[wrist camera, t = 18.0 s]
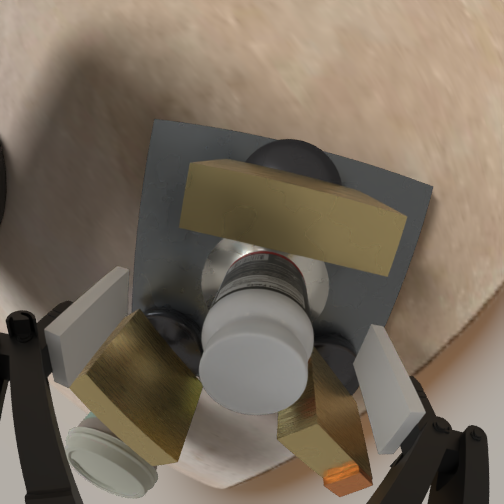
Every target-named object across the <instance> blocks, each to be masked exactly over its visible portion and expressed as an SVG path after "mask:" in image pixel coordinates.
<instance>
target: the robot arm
mask: <svg viewBox="0 0 504 504" xmlns="http://www.w3.org/2000/svg"><path fill="white" fill-rule="evenodd" d="M5 194H6V177H5V166H4V159H3V154H2V150H1V146H0V223H1V220H2V216H3V211H4V205H5ZM128 286H129V269H126V268H123V267H119V266H116V267H115V268H114V269H113V270H111V271H110V272H109V273H108V274H107V275H105V276H104V277H103V278H102V279H101V280H99V281H98V282H97V283H96V284H95V285H94V286H92V287H91V288H90V289H89V290H88V291H87V292H85V293H84V294H83V295H82V296H81V297H80V298H79V299H77V300H76V301H75V302H71V301H66V302H63V303H61V304H59V305H57V306H56V307H55V308H54V309H53V310H52V311H50V312H49V313H48V315H46V316H45V317H43V318H42V319H41V320H40V321H39V322H38V323H36V318H35V316H34V315H33V314H32V313H31V312H28V311H15V312H13V313H11V314H10V315H9V316H8V317H7V319H6V324H7V329H8V333H9V334H5V333H0V419H1V413H2V408H3V403H4V399H5V394H6V390H7V386H8V382H9V381H10V387H11V401H12V411H13V420H14V427H15V435H16V441H17V448H18V453H19V458H20V464H21V469H22V473H23V477H24V481H25V486H26V490H27V494H26V495H25V503H26V504H83V501H82V499H81V496H80V494H79V491H78V488H77V486H76V483H75V480H74V477H73V474H72V472H71V469H70V466H69V462H68V459H67V456H66V453H65V449H64V446H63V443H62V439H61V435H60V432H59V428H58V424H57V420H56V416H55V412H54V407H53V402H52V397H51V392H50V387H49V382H48V378H47V377H48V376H49V375H50V374H51V372H52V373H53V378H54V381H55V382H57V383H59V384H61V385H63V386H65V387H67V388H69V387H70V386H71V385H72V383H73V382H74V381H75V379H76V378H77V377H78V375H79V374H80V373H81V371H82V370H83V369H84V367H85V366H86V365H87V364H88V362H89V361H90V360H91V358H92V357H93V356H94V355H95V353H96V352H97V351H98V349H99V348H100V347H101V346H102V344H103V343H104V342H105V341H106V339H107V338H108V337H109V336H110V334H111V333H112V332H113V331H114V329H115V328H116V327H117V326H118V324H119V323H120V322H121V321H122V319H123V318H124V317H125V316H126V315H127V313H128ZM353 365H354V369H355V372H356V375H357V379H358V382H359V385H360V389H361V392H362V396H363V399H364V403H365V406H366V410H367V413H368V417H369V420H370V424H371V428H372V431H373V435H374V439H375V443H376V447H377V451H378V454H394V452H395V451H396V450H397V449H398V448H399V446H401V449H402V453H401V454H400V455H399V457H398V458H397V459H396V460H395V461H394V462H393V463H392V464H391V465H390V467H392V468H391V469H390V471H389V472H388V474H387V475H386V477H385V478H384V480H383V481H382V483H381V484H380V485H379V487H378V488H377V490H376V491H375V493H374V494H373V496H372V497H371V498H370V500H369V501H368V502H367V503H366V504H422V502H423V500H424V498H425V496H426V493H427V492H428V489H429V487H430V485H431V488H430V493H429V499H428V504H489V458H488V443H487V436H486V434H485V432H484V431H483V430H482V429H481V428H479V427H477V426H474V425H471V426H468V427H467V428H466V430H465V431H464V432H459V431H455V430H452V428H451V425H450V424H449V423H448V422H447V421H446V420H445V419H444V418H441V417H437V416H436V415H435V413H434V411H433V409H432V407H431V405H430V402H429V400H428V398H426V397H427V396H426V394H425V393H424V391H423V388H422V386H421V384H420V383H419V382H418V381H417V380H416V379H415V378H414V377H413V376H408V374H407V371H406V369H405V367H404V365H403V363H402V361H401V359H400V357H399V355H398V354H397V352H396V350H395V348H394V346H393V344H392V342H391V340H390V338H389V336H388V334H387V332H386V330H385V329H384V327H383V326H379V325H373V324H371V326H370V328H369V330H368V333H367V335H366V337H365V339H364V341H363V344H362V346H361V348H360V350H359V352H358V354H357V356H356V359H355V361H354V363H353Z"/></svg>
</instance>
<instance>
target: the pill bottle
mask: <svg viewBox="0 0 504 504" xmlns="http://www.w3.org/2000/svg"><path fill="white" fill-rule="evenodd" d="M313 344H314V332H313V325H312V319H311V313H310V307H309V301H308V294H307V289H306V283H305V280H304V277H303V275H302V273H301V271H300V269H299V268H298V266H297V265H296V264H295V263H294V262H293V261H292V260H290V259H289V258H288V257H286V256H284V255H282V254H280V253H277V252H273V251H265V250H264V251H254V252H251V253H248V254H245V255H243V256H242V257H240V258H239V259H237V260H236V261H235V262H234V263H233V264H232V265H231V266H230V268H229V269H228V271H227V273H226V275H225V277H224V279H223V281H222V283H221V285H220V287H219V290H218V292H217V294H216V297H215V299H214V301H213V303H212V306H211V308H210V310H209V312H208V314H207V316H206V318H205V321H204V324H203V328H202V346H203V350H204V352H203V355H202V358H201V360H200V365H199V376H200V380H201V383H202V385H203V387H204V389H205V391H206V392H207V393H208V394H209V396H210V397H211V398H212V399H213V400H215V401H216V402H217V403H218V404H220V405H222V406H223V407H225V408H227V409H229V410H231V411H234V412H237V413H241V414H247V415H266V414H272V413H276V412H279V411H281V410H284V409H286V408H287V407H289V406H291V405H292V404H293V403H295V402H296V401H297V400H298V399H299V398H300V396H301V395H302V394H303V392H304V390H305V388H306V385H307V380H308V360H309V358H310V356H311V353H312V350H313Z"/></svg>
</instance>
